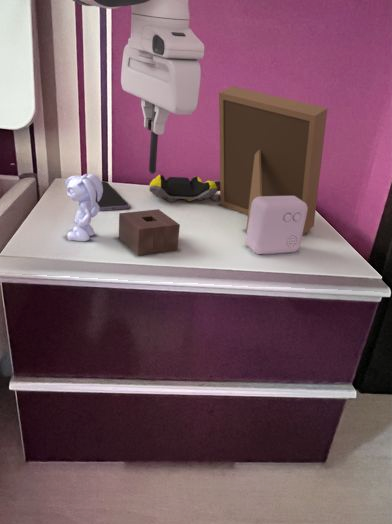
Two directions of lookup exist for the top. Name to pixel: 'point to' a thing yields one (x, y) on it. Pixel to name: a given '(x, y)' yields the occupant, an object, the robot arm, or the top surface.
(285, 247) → the electronic device
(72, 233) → the toy figurine
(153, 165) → the stylus
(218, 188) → the wristwatch
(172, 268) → the top surface
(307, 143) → the photo frame
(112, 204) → the smartphone
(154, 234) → the pen block
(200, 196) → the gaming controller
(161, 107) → the robot arm
